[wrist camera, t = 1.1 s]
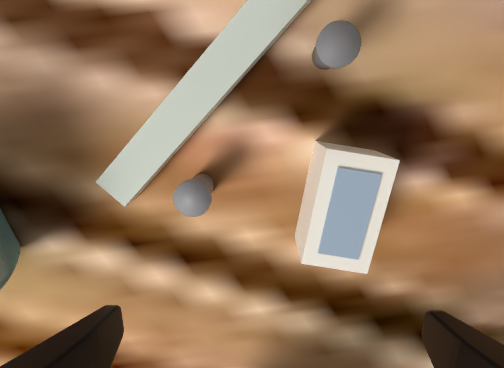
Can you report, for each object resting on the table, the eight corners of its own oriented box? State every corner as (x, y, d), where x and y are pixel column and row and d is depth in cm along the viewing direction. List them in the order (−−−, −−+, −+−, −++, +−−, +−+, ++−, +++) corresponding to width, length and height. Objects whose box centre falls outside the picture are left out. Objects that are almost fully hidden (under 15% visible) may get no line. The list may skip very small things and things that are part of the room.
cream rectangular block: (314, 140, 20) (327, 148, 16) (373, 149, 20) (401, 160, 16) (294, 235, 22) (301, 264, 18) (348, 244, 22) (368, 275, 18)
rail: (391, 13, 18) (420, -9, 14) (176, 234, 22) (160, 257, 18) (317, -72, 17) (331, -117, 13) (107, 176, 21) (78, 189, 17)
